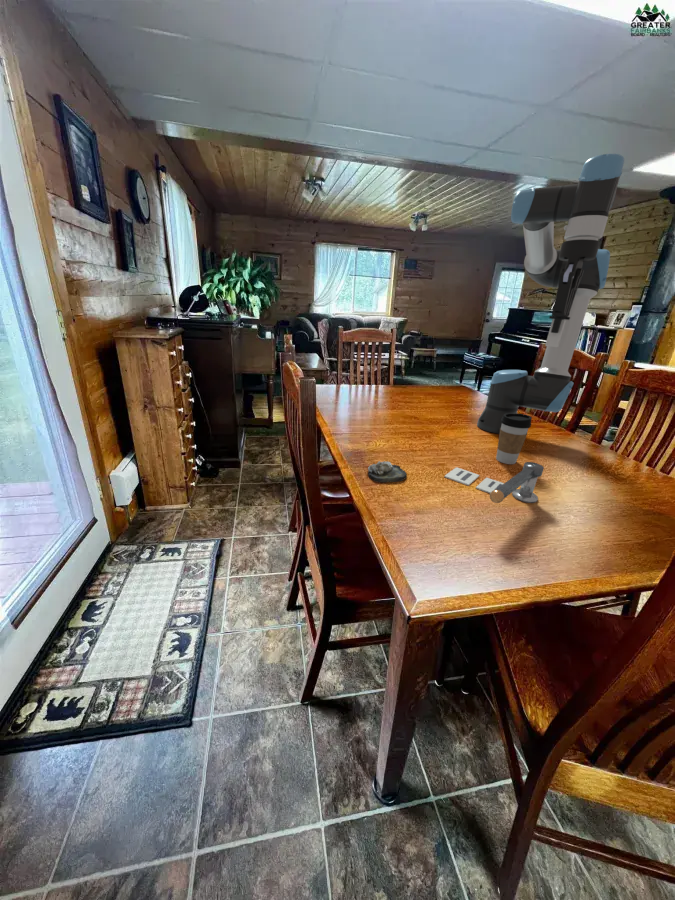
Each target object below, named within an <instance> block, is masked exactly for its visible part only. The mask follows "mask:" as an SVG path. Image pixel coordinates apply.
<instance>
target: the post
mask: <svg viewBox="0 0 675 900" xmlns="http://www.w3.org/2000/svg"><path fill="white" fill-rule="evenodd" d="M538 478H539V477H533V476H532V477H531V478H530V479H528V480H527V481H526V482H525V483H523V484H522V485H521V486H520V487H519V488H517V489H516V490H514V491H513V492H512V493H511V496H513V498H514V499H516V500H518V501H521V502H523V503H527V504H535V503H537V502H538V500H539V497H538V495H537V494H536V493H534V490H535V487H536V483H537V481H538Z"/></svg>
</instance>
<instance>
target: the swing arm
mask: <svg viewBox="0 0 675 900" xmlns="http://www.w3.org/2000/svg"><path fill="white" fill-rule="evenodd" d="M544 469H545V467H544V466H543V465H541V464H540V463H537V462H534V461H525V462H524V463H523V467H522V470H521V471H519V472H517V473H516V474H515V475H514V476H512V477H511V478H509V480H507V481H505V482H503V483H504V484H503V485H501V486H500V487H499V488H497V489H496V490H493V491H492V492H491V493H489V499H490V501H491V502H493V503H495V504H499V503H502V502H503V501H504V499H505V498H507V497H508V496H509V495H512V492H513V491H514V490H516V489H519V488H521V485H522V484H523V483H525V482H526V481H527V480H528V479H530V478H531V477H532V476H533V477H538V478H539V477H542V475H543V472H544Z"/></svg>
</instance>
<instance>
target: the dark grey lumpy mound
mask: <svg viewBox="0 0 675 900" xmlns="http://www.w3.org/2000/svg"><path fill="white" fill-rule="evenodd" d="M367 470H368V471H367V475H368V478H369V479H371V480H372V481H373V482H376V483H397V482H403V481H404V480H406V479H407V477H408V474H407V472H406V471H405V470H404V469H403V468H401V466H400V465H398V464H392V463H391V462H390V461H385V460H384V461H380V460H379V461H377V463H372V464H370V465H369V466H368V467H367Z"/></svg>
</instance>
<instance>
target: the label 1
mask: <svg viewBox="0 0 675 900" xmlns="http://www.w3.org/2000/svg"><path fill="white" fill-rule="evenodd" d="M479 477H480V474H477V473H474V472H472V471H469V470H466V469H463V468H460V467H454V468H453V469H452V470H450V471H449V472H447V473H446V474H445V475H444V478H446V479H448V480H451V481H454V482H457V483H460V484H463V485H464V486H470V485H471V484H472V483H474V482H475V481H476V480H477V479H478V478H479Z"/></svg>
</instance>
